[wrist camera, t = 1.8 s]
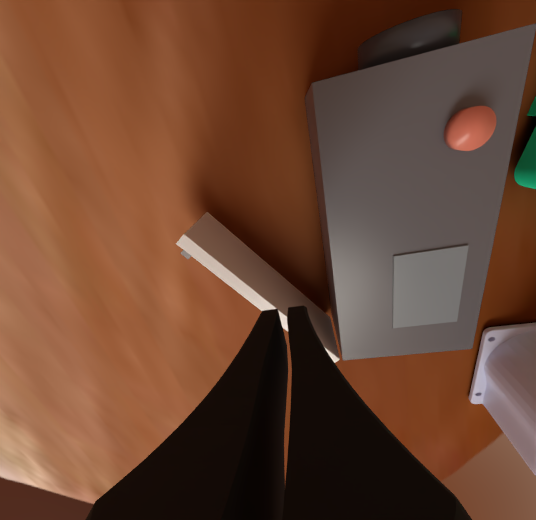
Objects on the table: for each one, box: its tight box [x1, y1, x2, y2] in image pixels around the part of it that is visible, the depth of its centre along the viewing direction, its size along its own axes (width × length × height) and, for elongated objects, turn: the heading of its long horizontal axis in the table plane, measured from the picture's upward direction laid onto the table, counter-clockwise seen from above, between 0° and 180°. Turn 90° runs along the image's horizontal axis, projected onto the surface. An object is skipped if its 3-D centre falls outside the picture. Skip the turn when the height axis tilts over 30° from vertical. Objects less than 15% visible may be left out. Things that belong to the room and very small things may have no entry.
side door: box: [176, 212, 340, 363], centre depth 18 cm, size 13×2×4 cm, turn 47°
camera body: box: [305, 9, 536, 360], centre depth 15 cm, size 17×8×5 cm, turn 12°
